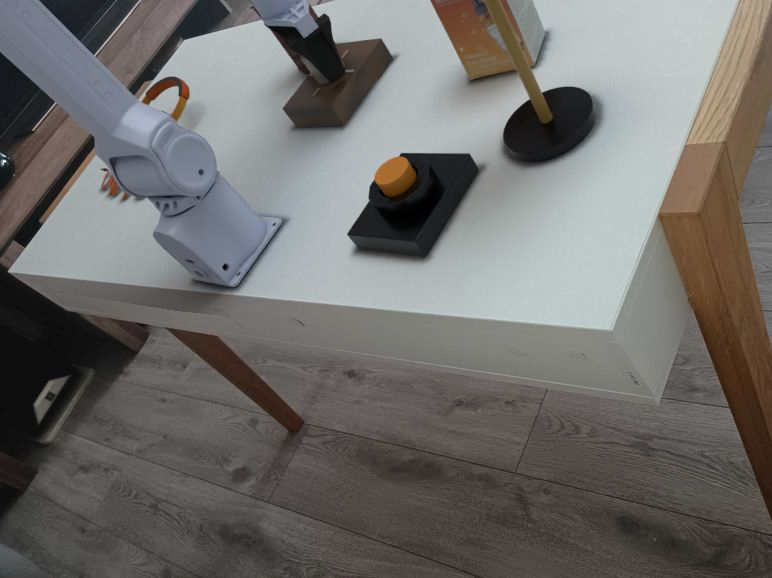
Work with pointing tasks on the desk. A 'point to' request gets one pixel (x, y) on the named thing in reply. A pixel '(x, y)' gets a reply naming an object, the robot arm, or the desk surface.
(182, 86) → the headphones
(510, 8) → the small box
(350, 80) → the dimmer panel
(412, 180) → the lamp switch
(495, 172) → the desk surface
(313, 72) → the dimmer knob
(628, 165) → the desk surface
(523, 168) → the desk surface
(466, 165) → the switch base
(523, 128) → the desk lamp
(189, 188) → the robot arm
